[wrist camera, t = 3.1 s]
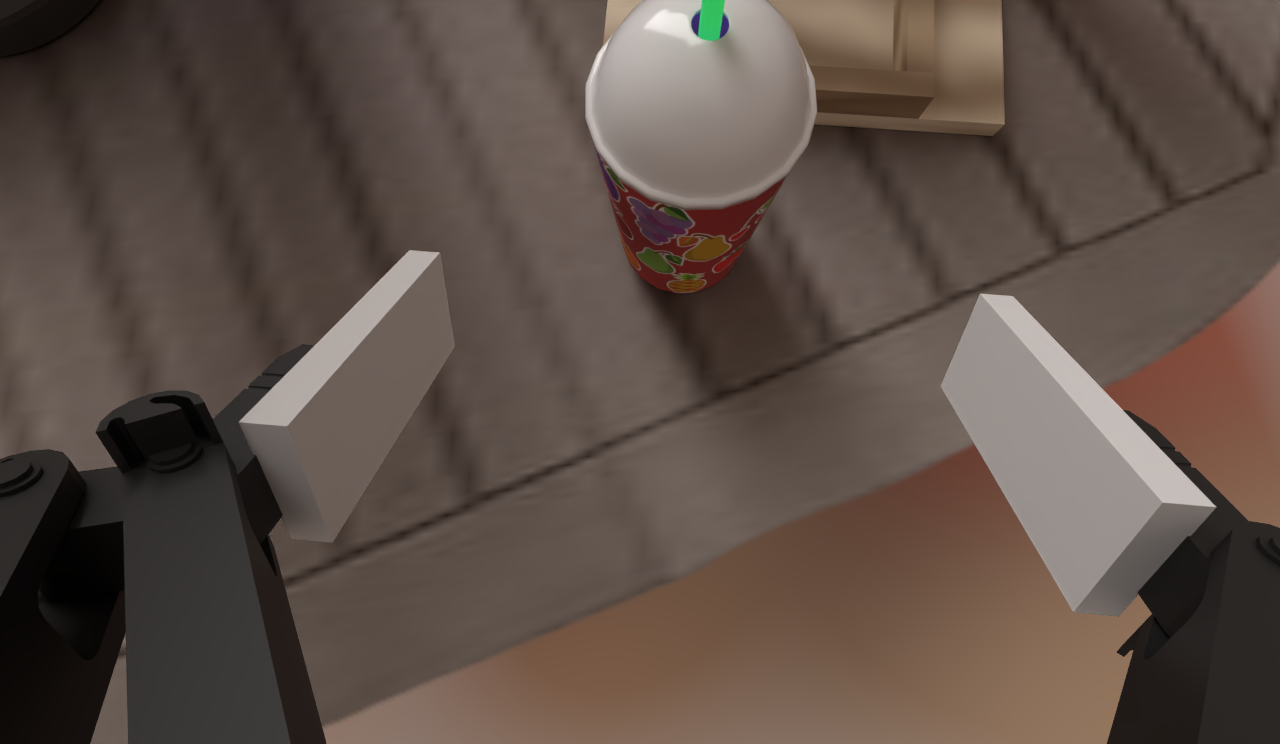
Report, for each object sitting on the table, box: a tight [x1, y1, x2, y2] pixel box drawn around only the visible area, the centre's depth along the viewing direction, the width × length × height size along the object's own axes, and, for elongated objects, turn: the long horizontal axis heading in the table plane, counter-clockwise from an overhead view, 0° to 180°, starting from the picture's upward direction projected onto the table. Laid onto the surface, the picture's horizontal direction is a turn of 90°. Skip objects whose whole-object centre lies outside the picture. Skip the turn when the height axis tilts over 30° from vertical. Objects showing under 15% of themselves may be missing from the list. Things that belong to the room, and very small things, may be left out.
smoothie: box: [585, 0, 817, 293], centre depth 25 cm, size 8×8×20 cm
